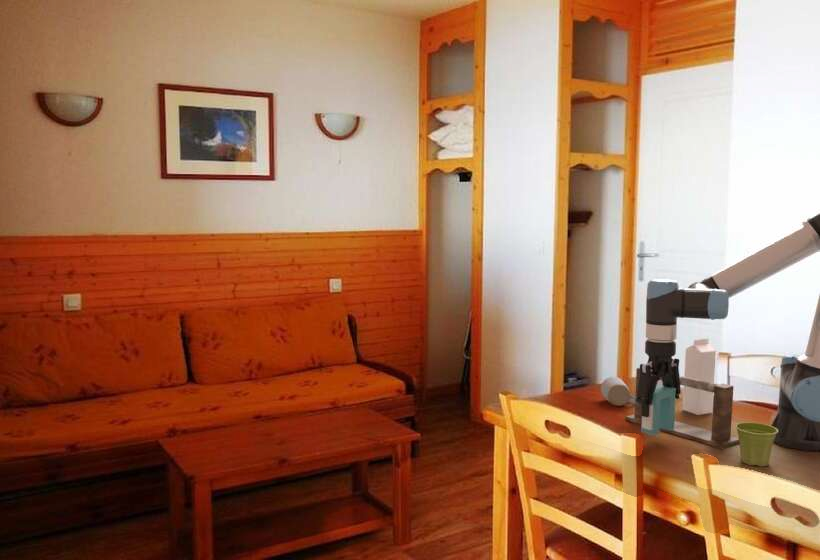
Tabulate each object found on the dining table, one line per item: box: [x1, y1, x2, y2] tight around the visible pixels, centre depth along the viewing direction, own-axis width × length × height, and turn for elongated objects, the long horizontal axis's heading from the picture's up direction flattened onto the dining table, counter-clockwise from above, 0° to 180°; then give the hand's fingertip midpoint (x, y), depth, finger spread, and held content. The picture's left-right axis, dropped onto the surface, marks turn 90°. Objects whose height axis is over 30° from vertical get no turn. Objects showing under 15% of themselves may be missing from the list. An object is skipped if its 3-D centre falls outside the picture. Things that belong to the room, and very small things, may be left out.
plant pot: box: [734, 421, 778, 467], centre depth 182 cm, size 9×9×9 cm
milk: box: [682, 338, 717, 416], centre depth 224 cm, size 6×6×22 cm
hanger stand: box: [625, 367, 739, 449], centre depth 205 cm, size 30×8×15 cm, turn 37°
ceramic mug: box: [600, 376, 635, 407], centre depth 233 cm, size 11×8×8 cm
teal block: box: [640, 385, 676, 436], centre depth 195 cm, size 8×4×11 cm, turn 127°
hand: (657, 425), depth 196 cm, fingers closed on teal block, 8 cm apart
